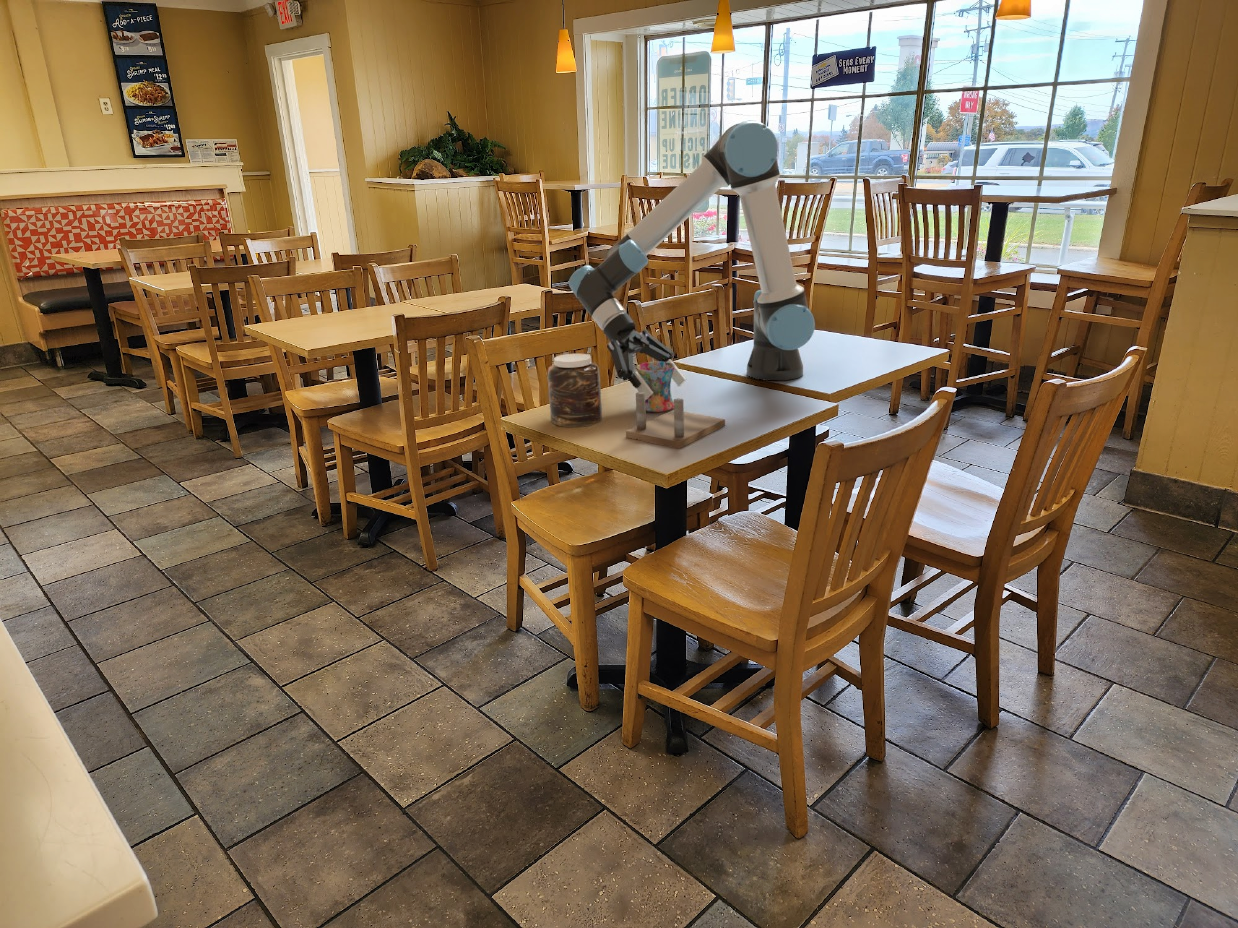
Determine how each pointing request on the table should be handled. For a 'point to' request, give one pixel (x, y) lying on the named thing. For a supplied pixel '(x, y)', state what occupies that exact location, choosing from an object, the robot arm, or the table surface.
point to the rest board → (672, 425)
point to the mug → (657, 384)
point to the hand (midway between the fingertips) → (666, 389)
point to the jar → (574, 391)
